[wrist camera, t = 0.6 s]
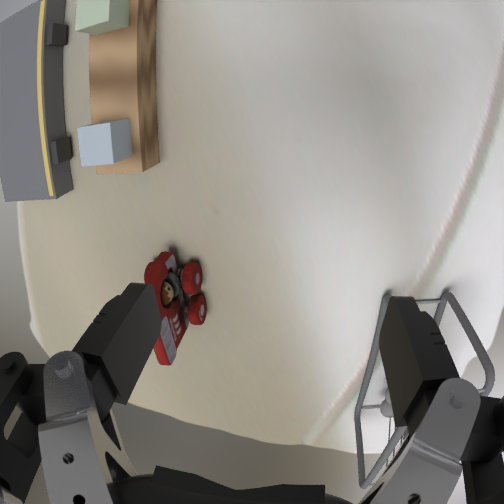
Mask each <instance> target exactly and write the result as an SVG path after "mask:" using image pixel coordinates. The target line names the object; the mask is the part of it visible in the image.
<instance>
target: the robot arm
mask: <svg viewBox="0 0 504 504" xmlns="http://www.w3.org/2000/svg"><path fill="white" fill-rule="evenodd" d="M161 326H162V321H161V315H160V311H159V307H158V303H157V299H156V295H155V290H154V287H153V286H152V285H151V284H143V283H130V284H129V285H128V286H127V287H126V289H125V290H124V292H123V293H122V294H121V295H117V296H116V297H114V298H113V299H111V300H110V301H109V302H107V303H106V304H105V306H104V307H103V308H102V310H101V311H100V312H99V315H97V316H96V318H95V319H94V320H93V323H91V324H90V326H89V327H88V329H87V330H86V331H85V333H84V334H83V336H82V337H81V338H80V340H79V341H78V343H77V344H76V345H75V347H74V348H73V350H72V351H62V352H59V353H57V354H55V355H53V356H52V357H51V358H50V359H49V360H48V361H47V362H46V364H28V362H27V360H26V359H25V357H24V356H23V354H21V353H19V352H10V353H7V354H5V355H3V356H2V357H1V358H0V504H24V503H25V499H26V497H27V495H28V492H29V489H30V487H31V484H32V482H33V479H34V477H35V474H36V472H37V470H38V467H39V465H40V463H41V460H42V464H43V470H44V476H45V481H46V486H47V490H48V495H49V499H50V504H352V503H350V502H349V501H346V500H344V499H342V498H339V497H336V496H333V495H329V494H325V485H288V484H287V485H286V484H281V485H275V486H268V487H261V488H253V489H245V490H234V489H231V488H228V487H226V486H223V485H220V484H218V483H215V482H213V481H210V480H208V479H205V478H203V477H201V476H198V475H196V474H192V473H187V472H182V471H178V470H173V469H169V468H165V467H160V466H156V468H155V471H154V474H145V475H137V473H136V471H135V470H134V468H133V466H132V464H131V463H130V461H129V459H128V457H127V455H126V452H125V449H124V446H123V443H122V440H121V437H120V434H119V431H118V428H117V425H116V422H115V418H114V415H113V412H112V410H111V407H112V405H113V403H114V402H117V403H121V404H124V405H126V404H127V402H128V400H129V398H130V395H131V393H132V391H133V389H134V387H135V385H136V383H137V381H138V378H139V376H140V374H141V372H142V370H143V368H144V366H145V364H146V362H147V360H148V358H149V356H150V354H151V351H152V349H153V347H154V345H155V343H156V341H157V339H158V337H159V335H160V332H161ZM379 349H380V353H381V357H382V362H383V366H384V371H385V375H386V380H387V385H388V389H389V394H390V400H391V405H392V410H393V416H394V421H395V427H404V426H407V428H408V433H409V434H408V435H407V436H406V438H405V439H404V441H403V443H402V444H401V446H400V448H399V449H398V451H397V452H396V454H395V455H394V457H393V458H392V460H391V461H390V463H389V464H388V466H387V467H386V469H385V470H384V472H383V473H382V475H381V476H380V477H379V479H378V480H377V481H376V483H375V484H374V485H373V486H372V488H371V489H370V490H369V491H368V492H367V494H366V495H365V496H364V497H363V499H362V500H361V501H360V502H359V503H358V504H447V502H448V500H449V498H450V496H451V494H452V492H453V490H454V488H455V486H456V484H457V482H458V479H459V477H460V475H461V472H462V469H463V476H464V484H465V492H466V501H467V504H504V462H503V458H502V452H503V451H504V396H503V398H502V399H500V398H493V397H486V396H481V395H479V392H478V390H477V389H476V387H475V386H474V385H473V384H472V383H470V382H469V381H466V380H464V379H461V378H460V377H459V374H458V372H457V369H456V367H455V364H454V362H453V359H452V357H451V355H450V352H449V350H448V348H447V345H446V344H445V341H444V338H443V336H442V335H441V332H440V329H439V327H438V325H437V323H436V321H435V320H434V319H433V318H432V317H431V316H430V315H429V314H428V313H427V312H426V311H420V310H419V308H418V306H417V303H416V301H415V299H414V298H413V297H409V296H392V297H391V298H390V299H389V302H388V306H387V309H386V313H385V316H384V320H383V323H382V327H381V330H380V335H379ZM15 406H17V407H18V408H19V409H20V410H21V411H22V413H21V415H20V417H19V419H18V421H17V422H16V424H15V426H14V428H13V430H12V432H11V434H10V436H9V438H8V440H6V439H5V437H4V426H5V424H6V422H7V420H8V419H9V417H10V415H11V413H12V411H13V410H14V408H15ZM460 460H461V463H462V464H460V463H459V461H460Z"/></svg>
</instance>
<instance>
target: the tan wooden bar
mask: <svg viewBox="0 0 504 504" xmlns="http://www.w3.org/2000/svg"><path fill="white" fill-rule="evenodd" d="M156 8H157V0H130V7H129V27H125V28H121V29H117V30H113V31H109V32H106V33H102V34H99V35H94V34H90V43H89V78H90V104H91V120H92V124H95V123H99V122H106V121H113V120H120V119H128V118H130V126H131V140H132V152H133V155H132V156H130V157H128V158H125V159H123V160H121V161H119V162H117V163H115V164H106V165H96V169H97V174H113V173H133V172H144V171H145V170H147V169H149V168H151V167H152V166H154V165H156V164H158V163H160V159H159V144H158V127H157V105H156Z"/></svg>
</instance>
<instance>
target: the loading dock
mask: <svg viewBox="0 0 504 504" xmlns="http://www.w3.org/2000/svg"><path fill="white" fill-rule="evenodd" d="M65 4H66V0H39V1H37V2H35V3H33V4H31V5H29V6H28V7H26V8H24V9H22V10H21V11H19V12H17V13H15V14H14V15H12V16H10V17H9V18H7V19H6V20H4V21H3V22H1V23H0V177H1V183H2V188H3V192H4V197H5V201H6V202H10V201H26V200H44V199H57V198H59V197H61V196H62V195H64V194H66V193H68V192H69V191H71V190H73V183H72V177H71V170H70V163H69V159H72V155H71V146H70V137H66V127H65V115H64V98H63V46H64V45H66V33H67V25H64V16H65Z"/></svg>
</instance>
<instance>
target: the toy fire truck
mask: <svg viewBox="0 0 504 504" xmlns="http://www.w3.org/2000/svg"><path fill="white" fill-rule="evenodd" d="M144 281H145V284H151V285H152V286H153V287H154V290H155V295H156V299H157V303H158V307H159V311H160V315H161V321H162V326H161V332H160V335H159V337H158V339H157V341H156V343H155V345H154V347H153V348H154V351H155V354H156V356H157V359H158V362H159V364H161V365H171V364H172V363H173V361H174V359H175V356H176V351H177V348H178V346H179V344H180V342H181V340H182V338H183V336H184V334H185V331H186V329H187V328H188V324H189V321H190V323H191V324H193V325H201V324H203V323H204V321H205V318H206V301H205V298H204V297H203V296H202V295H193V296H191V298H190V300H189V304H188V306H187V304H186V302H185V301H184V298H183V293H182V289H181V288H183V290H184V292H185V293H186V294H197V293H199V291H200V288H201V284H202V271H201V267H200V265H199V263H196V262H189V263H186V264H185V266H184V268H180V269H177V265H176V260H175V255H174V254H173V253H172V252H161V253H160V255H159V256H158V257H157V258H156V259H155V261H154V262H150V263H149V264H148V265H147V267H146V269H145V274H144ZM187 312H188V315H187ZM188 318H189V319H188Z"/></svg>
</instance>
